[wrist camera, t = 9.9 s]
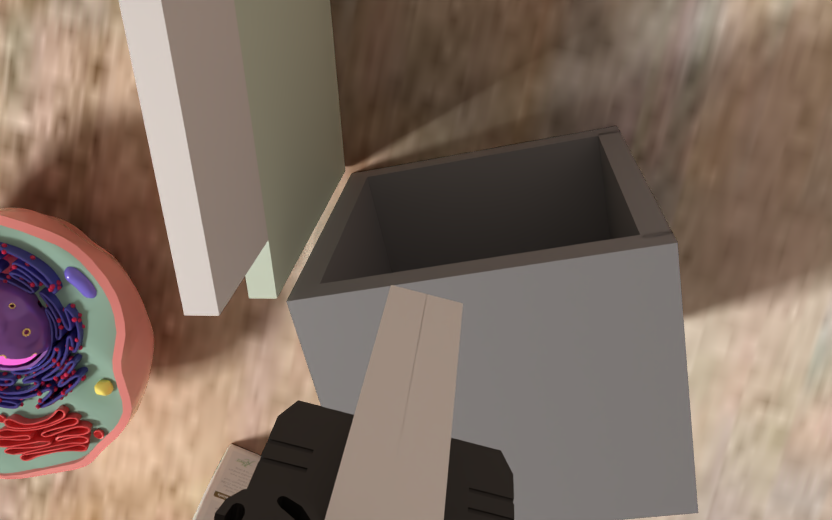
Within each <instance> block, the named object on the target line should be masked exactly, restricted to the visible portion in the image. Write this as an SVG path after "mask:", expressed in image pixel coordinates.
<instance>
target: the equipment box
mask: <svg viewBox="0 0 832 520" xmlns="http://www.w3.org/2000/svg"><path fill="white" fill-rule="evenodd" d="M391 285H394V286H397V287H401V288H405V289H409V290H413V291H417V292H421V293H424V294H428V295H432V296H436V297H440V298H444V299H448V300H452V301H455V302H459V303H463V309H462V320H461V331H460V342H459V354H458V365H457V376H456V387H455V398H454V410H453V421H452V432H451V438H454V439H458V440H462V441H466V442H470V443H474V444H478V445H482V446H486V447H489V448H493V449H497V450H501V452H502V454H503V455H504V457H505V459H506V461H507V463H508V465H509V467H510V469H511V471H512V473H513V480H514V500H513V504H514V520H623V519H635V518H646V517H657V516H669V515H680V514H692V513H698V504H697V491H696V478H695V465H694V452H693V438H692V425H691V412H690V399H689V386H688V373H687V360H686V346H685V333H684V320H683V307H682V294H681V281H680V268H679V254H678V242H677V241H676V239H675V237H674V235H673V233H672V231H671V229H670V227H669V225H668V223H667V221H666V219H665V217H664V216H663V214H662V212H661V210H660V208H659V206H658V204H657V202H656V200H655V198H654V196H653V194H652V192H651V191H650V189H649V187H648V185H647V183H646V181H645V179H644V177H643V175H642V173H641V171H640V169H639V167H638V166H637V164H636V162H635V160H634V158H633V156H632V154H631V152H630V150H629V148H628V146H627V144H626V142H625V141H624V139H623V137H622V135H621V133H620V131H619V129H618V127H617V126H614V127H608V128H603V129H597V130H591V131H586V132H580V133H575V134H569V135H564V136H558V137H552V138H547V139H541V140H536V141H530V142H525V143H519V144H514V145H508V146H502V147H497V148H491V149H486V150H480V151H475V152H469V153H464V154H458V155H452V156H447V157H441V158H436V159H430V160H425V161H419V162H414V163H408V164H402V165H397V166H391V167H386V168H380V169H375V170H369V171H364V172H358V173H352V174H351V175H350V177H349V179H348V181H347V183H346V185H345V187H344V189H343V191H342V193H341V195H340V197H339V199H338V201H337V203H336V205H335V207H334V209H333V211H332V213H331V215H330V217H329V219H328V221H327V223H326V225H325V227H324V229H323V231H322V233H321V235H320V237H319V238H318V240H317V242H316V244H315V246H314V248H313V250H312V252H311V254H310V256H309V258H308V260H307V262H306V264H305V266H304V268H303V270H302V272H301V274H300V276H299V278H298V280H297V282H296V284H295V286H294V288H293V290H292V292H291V294H290V296H289V298H288V300H287V301H286V302H287V305H288V308H289V311H290V314H291V317H292V320H293V323H294V326H295V329H296V332H297V335H298V338H299V341H300V344H301V347H302V350H303V353H304V356H305V359H306V362H307V365H308V368H309V371H310V374H311V377H312V380H313V383H314V386H315V389H316V392H317V395H318V398H319V401H320V404H321V406H322V407H326V408H330V409H333V410H337V411H341V412H345V413H349V414H353V415H354V414H355V410H356V407H357V403H358V400H359V396H360V393H361V389H362V386H363V382H364V379H365V375H366V372H367V368H368V364H369V361H370V357H371V354H372V350H373V347H374V343H375V340H376V336H377V333H378V329H379V326H380V322H381V319H382V315H383V311H384V308H385V304H386V301H387V297H388V294H389V290H390V287H391Z"/></svg>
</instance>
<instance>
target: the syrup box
mask: <svg viewBox="0 0 832 520" xmlns="http://www.w3.org/2000/svg"><path fill="white" fill-rule="evenodd" d="M260 458H261V456H260V455H258V454H255V453H253V452H250V451H248V450H245V449H243V448H241V447H238V446H235V445H233V444H230V445H229V447H228V448H227V450H226V452H225V454H224V455H223V457H222V459H221V461H220V463H219V465H218V466H217V469H216V471H215V473H214V475H213V477H212V479H211V481H210V483H209V485H208V487H207V489H206V491H205V493H204V495H203V498H202V500H201V502H200V504H199V506H198V508H197V510H196V513H195V515H194V517H193V519H192V520H214V516H215V512H216V511H217V510H218V508H219V507H220V506H221V505H222V503H223V502H224V501H225V499H227V498H228V497H230V496H232V495H234V494H236V493H237V492H239V491H241V490H243V489H247V487H248V485H249V483H250V480H251V478H252V476H253V473H254V471H255V469H256V466H257V464H258V462H259V461H260Z"/></svg>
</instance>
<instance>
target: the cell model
mask: <svg viewBox="0 0 832 520" xmlns="http://www.w3.org/2000/svg"><path fill="white" fill-rule="evenodd" d="M153 353H154V333H153V329H152V325H151V322H150V319H149V317H148V314H147V311H146V309H145V306H144V303H143V301H142V299H141V296H140V294H139V293H138V291H137V289H136V288H135V286H134V284H133V282H132V281H131V279H130V277H129V276H128V274H127V273H126V272H125V270H124V269H123V267H122V266H121V264H120V263H119V262H118V261H117V260H116V259H115V257H114V256H113V255H112V254H110V253H109V252H108V251H106V250H105V249H103V248H102V247H101V246H99V245H98V244H96V243H95V242H94V241H92V240H91V239H90V238H89V237H88V236H86V235H85V234H84V233H83V232H82V231H81V230H79V229H78V228H77V227H75V226H74V225H72V224H71V223H69V222H67V221H65V220H63V219H60V218H56V217H52V216H49V215H46V214H43V213H41V212H38V211H34V210H30V209H25V208H14V207H9V208H0V478H1V479H21V478H28V477H35V476H41V475H46V474H52V473H58V472H63V471H69V470H75V469H78V468H81V467H84V466H87V465H88V464H90V463H91V462H92V461H93V460H94V459H95V458H96V457H97V456H98V455H99V454H100V453H101V452H102V451H103V450H104V449H105V448H106V447H107V446H108V445H109V444H110V443H111V442H112V441H113V440H115V439H116V438H117V437H118V436H119V434H120V433H121V432H122V431H123V430H124V428H125V427H126V426H127V425H128V423H129V422H130V421H131V419H132V418H133V417H134V415H135V413H136V412H137V410H138V408H139V405H140V403H141V401H142V398H143V396H144V393H145V390H146V387H147V383H148V379H149V375H150V371H151V366H152V360H153Z"/></svg>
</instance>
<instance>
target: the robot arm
mask: <svg viewBox="0 0 832 520" xmlns="http://www.w3.org/2000/svg"><path fill="white" fill-rule="evenodd" d="M462 309H463V303H459V302H455V301H452V300H448V299H444V298H440V297H436V296H432V295H428V294H424V293H421V292H417V291H413V290H409V289H405V288H401V287H397V286H394V285H391V287H390V290H389V294H388V297H387V301H386V304H385V308H384V311H383V315H382V319H381V322H380V326H379V329H378V333H377V336H376V340H375V343H374V347H373V350H372V354H371V357H370V361H369V364H368V368H367V372H366V375H365V379H364V382H363V386H362V389H361V393H360V396H359V400H358V403H357V407H356V410H355V414H354V415H353V414H349V413H345V412H341V411H337V410H333V409H330V408H326V407H322V406H318V405H314V404H310V403H306V402H302V401H297V402H296V403H294V404H293V405H292V406H290V407H289V408H288V409H287V410H285V411H284V412H283V413H282V414H280V415H279V416H278V418H277V420H276V422H275V425H274V427H273V429H272V431H271V434H270V436H269V439H268V442H267V443H266V445H265V448H264V450H263V452H262V455H261V458H260V461H259V462H258V464H257V466H256V469H255V471H254V473H253V476H252V478H251V480H250V483H249V485H248V487H247V489H243V490H241V491H239V492H237V493H236V494H234V495H232V496H230V497H228V498H227V499H225V501H224V502H223V503H222V505H221V506H220V507H219V508H218V510H217V511H216V512H215V516H214V520H514V504H513V500H514V480H513V473H512V471H511V469H510V467H509V465H508V463H507V461H506V459H505V457H504V455H503V454H502V452H501V450H497V449H493V448H489V447H486V446H482V445H478V444H474V443H470V442H466V441H462V440H458V439H454V438H451V432H452V421H453V410H454V398H455V387H456V376H457V365H458V354H459V342H460V331H461V320H462Z"/></svg>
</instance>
